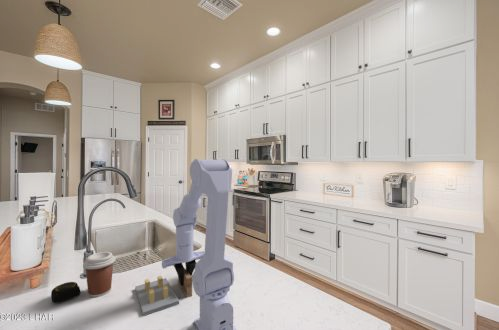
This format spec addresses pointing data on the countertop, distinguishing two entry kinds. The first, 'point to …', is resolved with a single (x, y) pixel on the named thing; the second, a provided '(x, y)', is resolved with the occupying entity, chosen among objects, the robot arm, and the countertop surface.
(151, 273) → the countertop surface
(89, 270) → the coffee cup
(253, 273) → the countertop surface
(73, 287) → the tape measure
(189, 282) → the door panel
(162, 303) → the hinge board
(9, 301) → the countertop surface
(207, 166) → the robot arm
